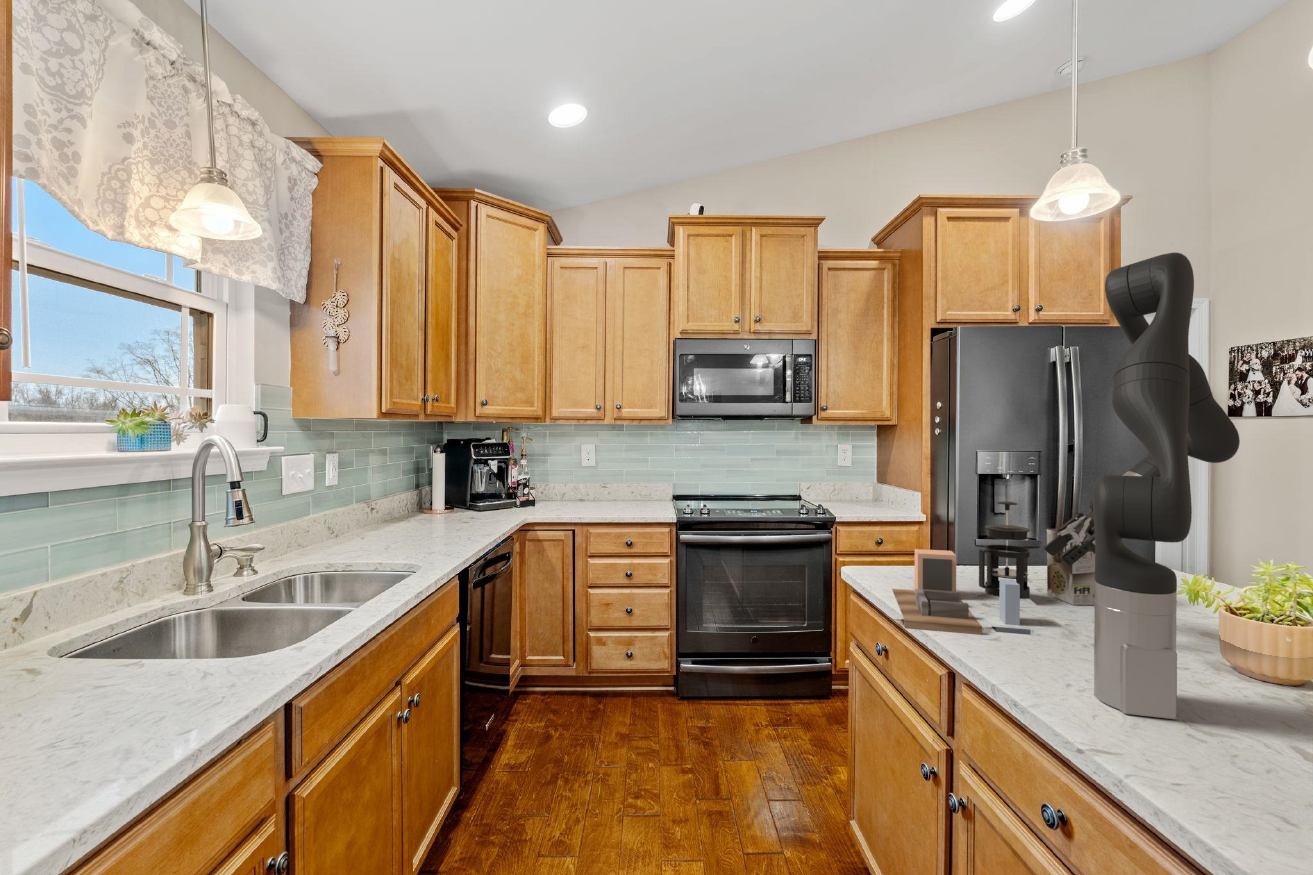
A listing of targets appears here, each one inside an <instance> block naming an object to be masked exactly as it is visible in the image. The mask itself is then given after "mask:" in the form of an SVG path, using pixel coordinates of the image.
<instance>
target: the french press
mask: <svg viewBox="0 0 1313 875" xmlns="http://www.w3.org/2000/svg"><path fill="white" fill-rule="evenodd" d="M996 503H997V504H998V505H1004V511H1005V514H1006V517H1005V518H1006V519H1005V524H987V525H985V529H986V531H987V532H986V533H987V537H989V538H993V539H997V540H1004V541H1005V540H1006V541H1005V543H1006V544H989V545H985V546H984V549H983V548H981V549H978V586H979V587H980V588H982V589H984V591H985V593H987V594H989V595H992V596H995V597H998V598H1000V579H1006V580H1015V582H1017V583H1018V584H1019V585H1020V600H1021V599H1029V600H1031V599H1030V598H1031V597H1030V596H1031V592H1030V591H1031V588H1030V586H1029V585H1028V581H1029V580H1028V577H1029V574H1028V573H1029V572H1028V563H1029V562H1028V558H1029V557H1031V550H1030V549H1028V548H1026V547H1023V546H1016V545H1009V541H1025V540H1027V539H1028V533H1029V532H1031V529H1030V528H1027V527H1026V526H1025V527H1024V526H1020V525H1019V526H1018V525H1012V524H1009V511H1010V509H1011V506H1015V505H1018V503H1017V502H1014V501H1009V500H1008V501H1006V500H1005V501H1004V500H1003V501H997V502H996ZM985 554H986V556H985ZM999 558H1004V559H1005V566H1004V568H1003V567H999V564H1000V563H999V560H1000V559H999ZM1009 559H1015V569H1013V568H1010V567H1009ZM985 560H986V561H985ZM985 562H986V563H985ZM985 564H986V565H985ZM985 566H986V567H985ZM985 568H986V569H985ZM985 572H986V573H985ZM985 576H986V579H985ZM985 580H986V581H985Z"/></svg>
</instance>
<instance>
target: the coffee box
mask: <svg viewBox="0 0 1313 875" xmlns="http://www.w3.org/2000/svg"><path fill="white" fill-rule="evenodd" d="M1057 529H1058V528H1046V545H1047V544H1048V543H1050V542H1051V541H1052V540H1053V539H1055V538H1056V537H1057V536H1058V535H1057V534H1058V532H1057ZM1066 529H1067V528H1066ZM1068 534H1069V533H1068ZM1077 542H1078V540H1076V541H1074V542H1071V543H1069V544H1068V545H1067V546H1066V547H1064V548H1063V549H1062V550H1061V551H1059V552H1058V553H1057V554H1056V555H1054V556H1052V555H1050V554H1049V553H1048V552H1047V551H1046V572H1047V573H1046V575H1047V576H1046V578H1047V579H1046V580H1047V581H1046V583H1047V584H1046V585H1047V586H1046V588H1047V589H1046V591H1047V592H1046V593H1047V595H1048V596H1051V597H1052V598H1055V599H1058V600H1060V601H1062V602H1065V603H1067V604H1069V605H1073V606H1094V600H1095V554H1094V553H1093V552H1091V553H1090V554H1087V553H1086V554H1085V555H1084V556H1082V557H1081V558H1080V559H1079V560H1077V561H1076V562H1075V563H1074V564H1072V565H1071V566H1069V565H1067V564H1065V563H1064V562H1063V561H1062V560H1061V559H1060V556H1061V555H1062V554H1063V553H1065V552H1066V551H1067V550H1068V549H1070V548H1071V547H1072V546H1073V545H1077V544H1076V543H1077ZM1077 546H1078V545H1077Z"/></svg>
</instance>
